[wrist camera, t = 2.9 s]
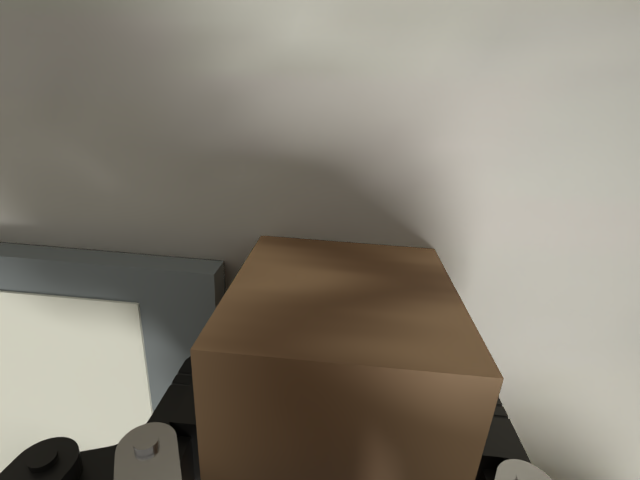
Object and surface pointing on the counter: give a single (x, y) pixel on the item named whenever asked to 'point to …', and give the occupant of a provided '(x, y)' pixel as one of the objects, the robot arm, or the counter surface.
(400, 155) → the counter surface
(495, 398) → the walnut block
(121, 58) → the counter surface
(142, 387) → the mat
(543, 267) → the counter surface
